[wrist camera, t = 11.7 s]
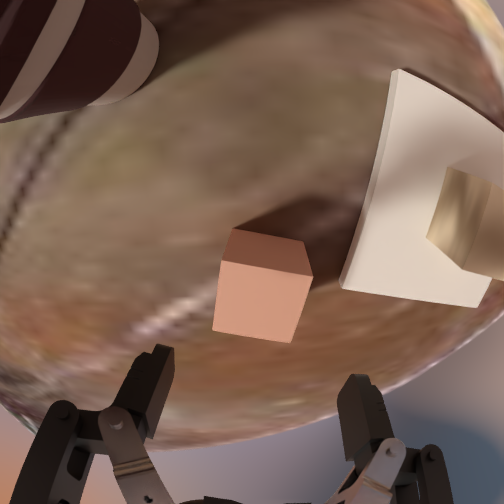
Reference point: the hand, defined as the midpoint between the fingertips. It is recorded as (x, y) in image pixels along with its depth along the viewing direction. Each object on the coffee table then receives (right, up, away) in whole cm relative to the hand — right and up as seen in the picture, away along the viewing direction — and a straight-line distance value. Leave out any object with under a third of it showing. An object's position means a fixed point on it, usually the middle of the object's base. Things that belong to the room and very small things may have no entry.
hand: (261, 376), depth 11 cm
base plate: (+15, +9, +6) cm, 19 cm away
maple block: (+15, +8, +5) cm, 18 cm away
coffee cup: (-10, +19, +3) cm, 22 cm away
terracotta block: (0, +4, +9) cm, 10 cm away
